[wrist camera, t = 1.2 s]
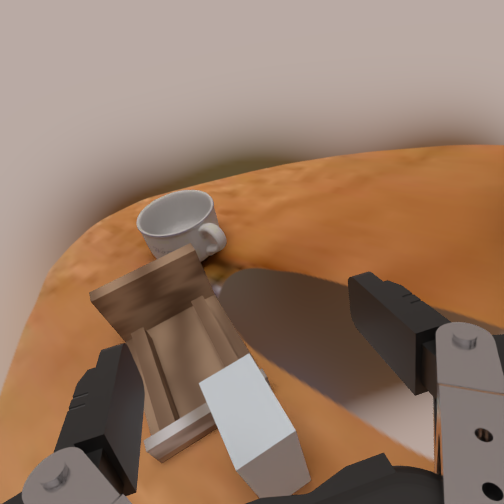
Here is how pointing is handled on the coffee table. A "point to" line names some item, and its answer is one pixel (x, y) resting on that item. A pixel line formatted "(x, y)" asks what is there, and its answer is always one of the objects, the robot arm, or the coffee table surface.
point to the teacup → (182, 224)
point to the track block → (172, 343)
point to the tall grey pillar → (255, 430)
